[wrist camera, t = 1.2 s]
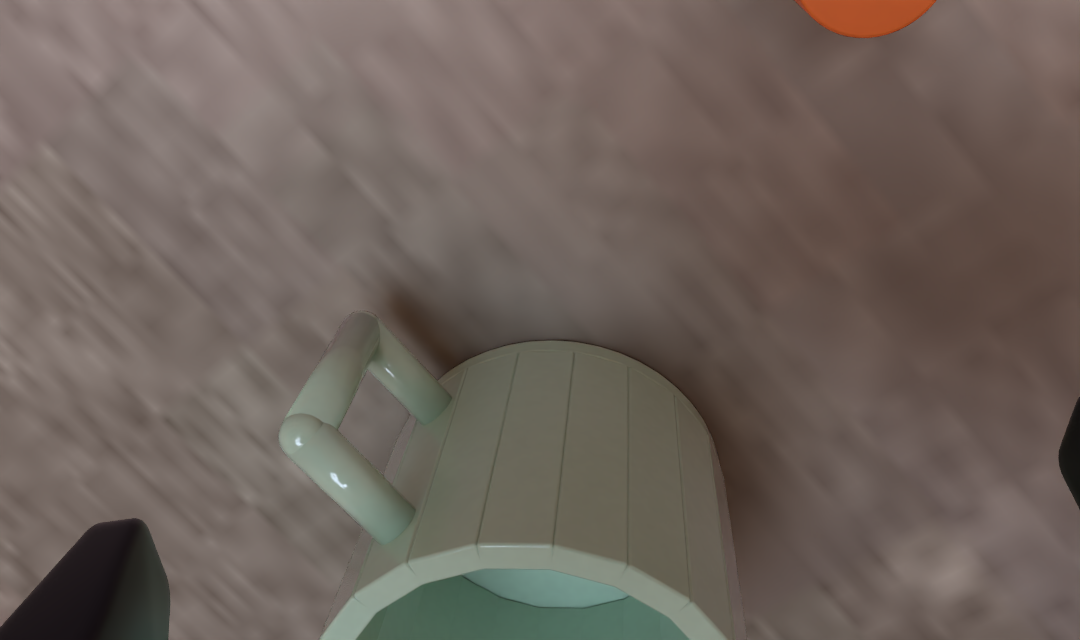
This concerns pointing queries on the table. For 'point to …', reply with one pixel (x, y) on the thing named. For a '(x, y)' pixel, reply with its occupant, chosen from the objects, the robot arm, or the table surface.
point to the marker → (865, 15)
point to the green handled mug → (521, 497)
